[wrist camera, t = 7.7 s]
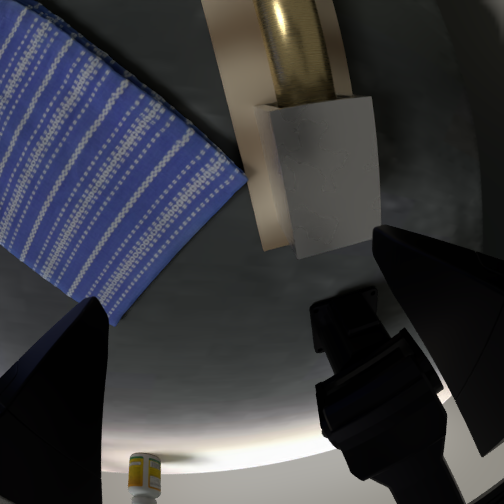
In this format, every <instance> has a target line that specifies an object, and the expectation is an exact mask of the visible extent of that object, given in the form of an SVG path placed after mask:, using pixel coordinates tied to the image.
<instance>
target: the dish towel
mask: <svg viewBox="0 0 504 504" xmlns="http://www.w3.org/2000/svg"><path fill="white" fill-rule="evenodd" d="M247 181H248V178H247V176H246V175H245V173H244V172H243V170H241V169H240V168H238V167H237V166H236V165H235V164H234V162H233V161H232V160H231V159H229V158H228V157H227V156H226V155H225V154H224V153H223V151H222V150H221V149H220V148H219V147H217V146H216V145H215V144H214V143H213V142H211V141H210V140H209V139H208V137H207V136H206V135H205V134H204V133H202V132H201V131H200V130H199V129H198V128H197V127H196V126H194V125H193V123H192V122H191V121H190V120H188V119H186V118H185V117H184V116H183V115H181V114H180V113H179V112H178V111H177V110H176V109H175V108H174V107H173V106H171V105H170V104H168V103H167V102H166V101H165V100H164V99H163V98H162V97H161V96H160V95H158V94H157V93H156V92H155V91H153V90H151V89H150V88H149V87H148V86H147V85H145V84H143V83H141V82H140V81H139V80H138V79H137V78H136V77H135V75H133V74H131V73H130V72H128V71H127V70H126V69H124V68H123V67H122V66H120V65H119V64H118V63H117V62H115V61H114V60H113V59H112V58H111V57H110V56H109V55H108V54H107V53H105V52H104V51H102V50H101V49H99V48H97V47H96V46H95V45H94V44H92V43H91V42H90V41H88V40H87V39H86V38H85V37H84V36H82V35H81V34H80V33H78V32H77V31H76V30H75V29H73V28H72V27H71V26H70V25H69V24H67V23H66V22H65V21H64V20H63V19H62V18H60V17H59V16H57V15H55V14H53V13H52V12H51V11H49V10H48V9H47V8H45V7H44V6H43V5H42V4H41V3H39V2H37V1H34V0H0V244H1V245H2V246H3V247H5V248H6V249H7V250H8V251H9V252H10V253H12V254H13V255H14V256H15V257H17V258H18V259H19V260H20V261H22V262H24V263H25V264H26V265H27V266H29V267H30V268H32V269H33V270H34V271H36V272H37V273H38V274H39V275H40V276H41V277H43V278H44V279H46V280H47V281H48V282H50V283H52V284H53V285H54V286H56V287H58V288H59V289H60V290H62V291H63V292H64V293H65V294H66V295H68V296H69V297H72V298H73V299H74V300H76V301H77V302H79V303H80V302H81V301H82V300H83V299H84V298H87V297H91V296H95V297H97V298H98V300H99V301H100V303H101V305H102V306H103V308H104V310H105V311H106V313H107V315H108V318H109V324H111V325H112V326H114V327H115V326H116V325H117V324H118V322H119V320H120V319H121V317H122V316H123V314H124V313H125V312H126V311H127V310H128V309H129V308H130V307H131V305H132V304H133V303H134V302H135V301H136V299H137V298H138V297H139V296H140V295H141V293H142V292H143V291H144V290H145V289H146V288H147V287H148V286H149V285H150V283H151V282H152V281H153V280H154V279H155V278H156V277H157V275H158V274H159V273H160V272H161V271H162V270H163V269H164V268H165V267H166V265H167V264H168V263H169V262H170V261H171V260H172V258H173V257H174V256H175V255H176V254H177V253H178V252H179V251H180V250H181V249H182V247H183V246H184V245H185V244H186V243H187V242H188V241H189V240H190V239H191V238H192V237H193V236H194V235H195V234H196V233H197V232H198V231H199V230H200V229H201V228H202V227H203V226H204V225H205V224H206V223H207V221H208V220H209V219H210V218H211V217H212V216H213V215H214V214H215V213H216V212H217V211H218V210H219V209H220V208H221V207H222V206H223V205H224V204H225V203H226V202H227V201H228V200H229V199H230V198H231V197H232V196H233V194H234V193H235V192H236V191H238V190H239V189H240V188H241V187H242V186H243V185H244V184H245V183H246V182H247Z"/></svg>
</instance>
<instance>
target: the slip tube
mask: <svg viewBox="0 0 504 504" xmlns="http://www.w3.org/2000/svg"><path fill="white" fill-rule="evenodd" d="M252 1H253V5H254V9H255V12H256V16H257V20H258V24H259V28H260V31H261V35H262V39H263V43H264V47H265V51H266V56H267V60H268V64H269V68H270V73H271V77H272V81H273V86H274V90H275V95H276V99H277V104H278V108H283V107H289V106H294V105H300V104H306V103H313V102H319V101H326V100H334V99H337V98H336V93H335V87H334V82H333V76H332V71H331V66H330V61H329V57H328V52H327V47H326V43H325V39H324V34H323V30H322V26H321V22H320V18H319V14H318V10H317V7H316V3H315V0H252Z"/></svg>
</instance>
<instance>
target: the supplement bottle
mask: <svg viewBox="0 0 504 504" xmlns="http://www.w3.org/2000/svg"><path fill="white" fill-rule="evenodd" d="M128 490H129V492H130V493H131V494H132V495H134V497H132V504H157V502H156V500H155V498H158V497H159V496H160V494H161V461H160V459H159V458H158V457H156V456H153V455H150V454H144V453H135V454H132V455H131V456H130V462H129V481H128Z"/></svg>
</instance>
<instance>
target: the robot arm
mask: <svg viewBox="0 0 504 504" xmlns="http://www.w3.org/2000/svg"><path fill="white" fill-rule="evenodd" d="M372 252H373V256H374V258H375V260H376V262H377V264H378V266H379V268H380V270H381V271H382V273H383V275H384V277H385V279H386V281H387V283H388V285H389V287H390V289H391V291H392V293H393V294H394V296H395V298H396V299H397V301H398V302H399V304H400V305H401V307H402V309H403V310H404V312H405V313H406V315H407V317H408V318H409V320H410V321H411V323H412V325H413V326H414V328H415V330H416V331H417V333H418V335H419V336H420V338H421V340H422V341H423V343H424V345H425V346H426V348H427V350H428V352H429V353H430V355H431V357H432V359H433V360H434V362H435V364H436V366H437V368H438V369H439V371H440V373H441V375H442V377H443V379H444V380H445V382H446V384H447V386H448V388H449V390H450V392H451V394H452V396H453V397H454V399H455V400H456V401H455V402H456V404H457V406H458V408H459V410H460V412H461V414H462V416H463V418H464V420H465V422H466V424H467V426H468V428H469V431H470V433H471V435H472V437H473V440H474V442H475V444H476V446H477V449H478V451H479V453H480V455H481V457H484V456H485V455H487V454H488V453H489V452H491V451H492V450H494V449H495V448H496V447H498V446H499V445H500V444H502V443H503V442H504V260H501V259H498V258H494V257H492V256H488V255H485V254H482V253H479V252H476V253H475V251H473V250H470V249H467V248H464V247H461V246H457V245H454V244H451V243H448V242H445V241H441V240H438V239H435V238H431V237H428V236H424V235H421V234H418V233H414V232H411V231H407V230H404V229H400V228H396V227H393V226H389V225H380V226H376V227H374V228H373V232H372ZM372 291H373V292H372ZM377 295H378V290H377V289H376V288H375V287H374V286H371V287H368V288H365V289H362V290H359V291H356V292H353V293H349V294H346V295H343V296H340V297H337V298H333V299H330V300H327V301H324V302H320V303H317V304H314V305H312V306H311V307H310V317H311V325H312V333H313V342H314V349H315V352H316V353H322V352H325V353H326V355H327V358H328V360H329V363H330V365H331V367H332V370H333V372H334V376H332V377H330V378H329V379H327V380H325V381H323V382H320V383H318V384H316V385H315V387H316V399H317V405H318V412H319V419H320V426H321V429H322V434H323V436H324V437H326V438H328V439H329V441H330V442H331V443H332V445H333V446H334V447H336V448H337V449H339V450H341V451H342V453H343V455H344V457H345V460H346V462H347V465H348V467H349V469H350V472H351V473H352V474H353V475H354V476H356V477H357V478H358V479H360V480H362V481H365V480H367V479H369V478H370V479H372V480H374V481H376V482H378V483H380V484H382V485H384V486H386V487H388V488H389V489H390V491H391V493H392V495H393V497H394V499H395V501H396V503H397V504H466V503H465V500H464V498H463V496H462V494H461V491H460V490H459V487H458V485H457V483H456V481H455V479H454V476H453V475H452V472H451V470H450V468H449V466H448V464H447V462H446V460H445V458H444V456H443V452H444V444H445V435H446V425H447V413H446V411H445V409H444V407H443V405H442V403H441V402H440V400H439V398H438V396H437V393H439V392H440V391H441V390H443V389H444V387H443V385H442V383H441V381H440V379H439V377H438V375H437V373H436V372H435V370H434V368H433V366H432V365H431V363H430V362H429V360H428V359H427V357H426V356H425V354H424V353H423V351H422V350H421V349H420V347H419V346H418V345H417V343H416V342H415V340H414V339H413V338H412V336H411V335H410V334H409V332H408V331H407V330H406V328H405V327H404V328H403V329H402V330H400V331H399V333H398V334H397V335H395V336H394V337H392V338H391V337H390V335H389V334H388V332H387V331H386V329H385V327H384V326H383V324H382V323H381V321H380V320H379V318H378V317H377V315H376V310H377ZM315 309H317V310H315ZM108 333H109V318H108V315H107V313H106V311H105V310H104V308H103V306H102V305H101V303H100V301H99V300H98V298H97V297H95V296H91V297H87V298H84V299H83V300H82V301H81V302H80V303H78V304H77V305H76V306H75V307H74V308H73V309H72V310H71V311H69V312H68V313H67V314H66V315H65V316H64V317H63V318H62V319H61V320H60V321H58V322H57V323H56V324H55V325H54V326H53V327H52V328H51V329H50V330H49V331H48V332H47V333H46V334H44V335H43V336H42V337H41V338H40V339H39V340H38V341H37V342H36V343H35V344H34V345H33V346H32V347H31V348H30V349H29V350H28V351H27V352H26V353H25V354H24V355H23V356H22V357H21V358H20V359H19V361H17V362H16V363H15V364H14V365H13V366H12V367H11V368H10V369H9V370H8V371H7V372H6V373H5V374H4V375H3V376H2V377H1V378H0V504H102V483H101V440H102V418H103V403H104V391H105V380H106V371H107V361H108ZM468 504H504V478H503V479H502V480H501V481H499V482H498V483H497V484H496V485H494V486H493V487H491V488H490V489H489V490H487V491H486V492H484V493H483V494H481V495H480V496H479V497H477V498H476V499H474V500H473V501H471V502H470V503H468Z"/></svg>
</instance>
